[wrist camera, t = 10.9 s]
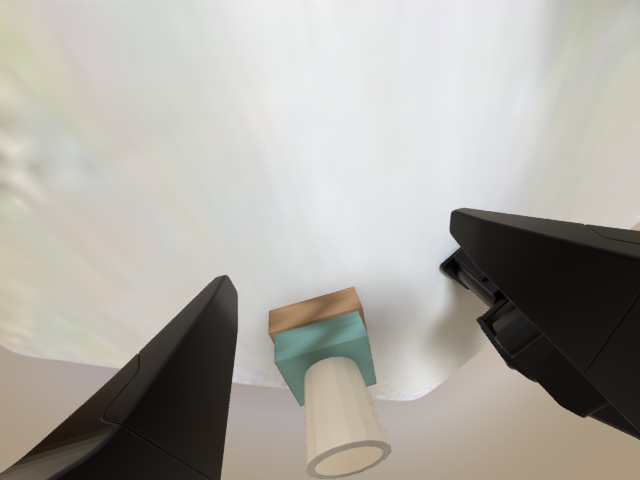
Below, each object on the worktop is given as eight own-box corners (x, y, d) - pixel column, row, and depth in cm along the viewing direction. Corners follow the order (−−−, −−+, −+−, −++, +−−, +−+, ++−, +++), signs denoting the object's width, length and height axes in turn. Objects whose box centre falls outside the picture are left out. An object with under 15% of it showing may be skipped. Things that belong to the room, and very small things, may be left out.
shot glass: (311, 349, 21) (324, 444, 15) (374, 355, 24) (408, 440, 18) (289, 391, 24) (294, 484, 18) (347, 393, 26) (368, 477, 20)
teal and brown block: (353, 286, 27) (372, 330, 21) (364, 339, 32) (381, 384, 27) (269, 311, 26) (267, 361, 21) (293, 360, 32) (297, 409, 26)
